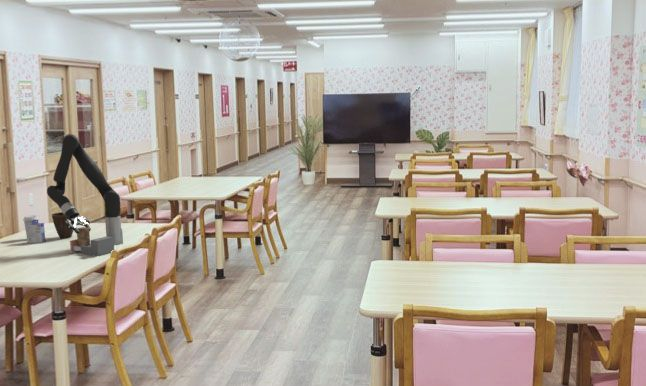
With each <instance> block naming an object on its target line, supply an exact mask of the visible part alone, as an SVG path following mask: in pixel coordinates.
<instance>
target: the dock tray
mask: <svg viewBox="0 0 646 386" xmlns="http://www.w3.org/2000/svg"><path fill="white" fill-rule="evenodd" d="M69 244H70V251H72V252H73V251H77V252H81V247H78V241H77V238H76V239H72V240H69ZM90 247H91V243H90Z"/></svg>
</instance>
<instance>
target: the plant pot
mask: <svg viewBox="0 0 646 386" xmlns="http://www.w3.org/2000/svg"><path fill="white" fill-rule="evenodd" d="M51 218H52V222H53V225H54V228H55V231H56V233H57V235H58V237H59V239H62V240H63V239H70V238H72V237H73V233H74V230H73V229H69V228H68V226H67V225H66V223H65V222H66V220H67V218H66V217H65V215H64V214H63V212H62V211H60V212H55V213H52V214H51ZM71 224H72V223H71Z"/></svg>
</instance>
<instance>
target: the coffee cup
mask: <svg viewBox="0 0 646 386" xmlns="http://www.w3.org/2000/svg"><path fill="white" fill-rule="evenodd" d="M33 220H38V221H39V217H38V215H36V214H35V215H25V216H24V217H23V221H22V222H24V224H23V225H24V229H25V235H26V236H27V231H26V225H27V224H30V223H32V222H33ZM34 222H37V221H34Z"/></svg>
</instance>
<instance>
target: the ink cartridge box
mask: <svg viewBox="0 0 646 386" xmlns="http://www.w3.org/2000/svg"><path fill="white" fill-rule="evenodd" d="M34 221H37V222H34ZM26 231H27V235H26V242H27V243H26V244H40V243H42V244H43V243H45V242H46V236H45V232H46V231H45V223H44V222H39V219H38V220H33V222H32V223H30V224H27V225H26V229H25V232H26Z"/></svg>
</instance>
